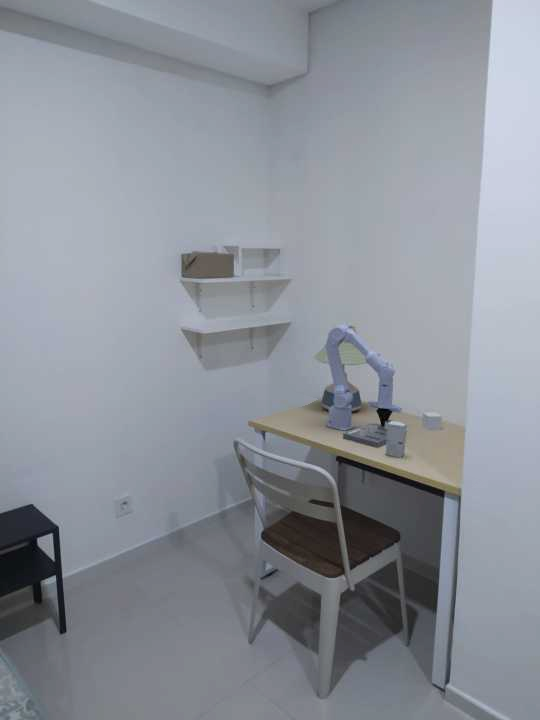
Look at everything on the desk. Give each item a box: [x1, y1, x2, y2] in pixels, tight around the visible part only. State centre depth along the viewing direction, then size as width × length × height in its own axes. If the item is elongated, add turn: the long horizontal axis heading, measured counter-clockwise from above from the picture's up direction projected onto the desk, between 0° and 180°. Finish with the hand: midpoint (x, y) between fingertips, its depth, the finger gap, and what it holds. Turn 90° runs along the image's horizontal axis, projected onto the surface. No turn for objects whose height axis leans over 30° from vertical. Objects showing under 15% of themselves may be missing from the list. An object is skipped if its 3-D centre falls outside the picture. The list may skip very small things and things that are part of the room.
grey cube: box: [421, 412, 443, 431], centre depth 239 cm, size 6×6×6 cm
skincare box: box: [385, 420, 408, 458], centre depth 203 cm, size 6×4×12 cm
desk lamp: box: [313, 322, 368, 413], centre depth 263 cm, size 26×28×42 cm
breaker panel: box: [342, 422, 408, 449], centre depth 224 cm, size 16×22×5 cm
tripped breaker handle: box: [385, 419, 394, 430], centre depth 228 cm, size 2×3×3 cm, turn 137°
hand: (383, 426), depth 230 cm, fingers closed
